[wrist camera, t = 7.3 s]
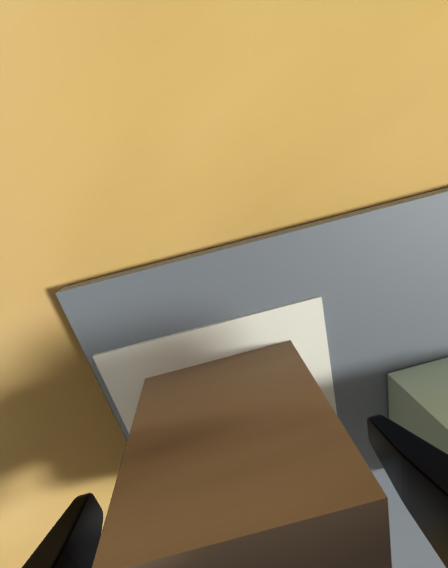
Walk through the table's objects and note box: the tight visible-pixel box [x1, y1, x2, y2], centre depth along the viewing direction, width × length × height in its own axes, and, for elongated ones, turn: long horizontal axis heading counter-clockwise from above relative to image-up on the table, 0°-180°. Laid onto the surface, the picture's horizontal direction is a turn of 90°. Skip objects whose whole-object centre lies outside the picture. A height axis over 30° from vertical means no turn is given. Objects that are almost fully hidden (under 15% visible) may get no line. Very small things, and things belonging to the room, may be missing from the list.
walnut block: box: [92, 340, 392, 568], centre depth 8 cm, size 5×5×5 cm
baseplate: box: [55, 187, 448, 568], centre depth 12 cm, size 20×15×1 cm
